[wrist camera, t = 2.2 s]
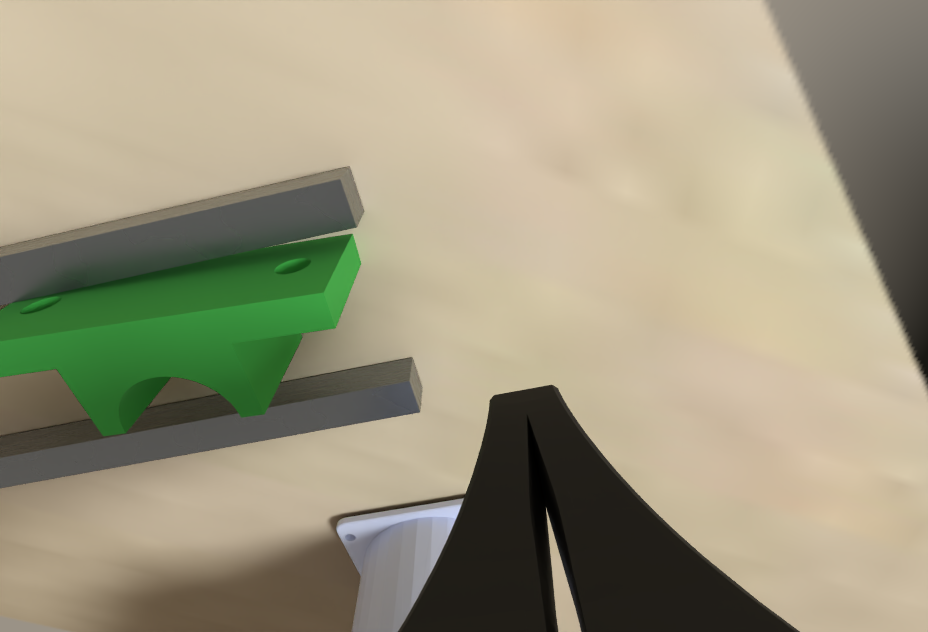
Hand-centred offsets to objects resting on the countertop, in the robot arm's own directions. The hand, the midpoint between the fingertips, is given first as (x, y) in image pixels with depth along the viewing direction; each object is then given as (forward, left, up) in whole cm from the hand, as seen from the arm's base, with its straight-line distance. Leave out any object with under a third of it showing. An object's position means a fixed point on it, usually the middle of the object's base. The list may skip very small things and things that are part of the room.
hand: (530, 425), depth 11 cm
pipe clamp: (+1, +10, -8) cm, 13 cm away
